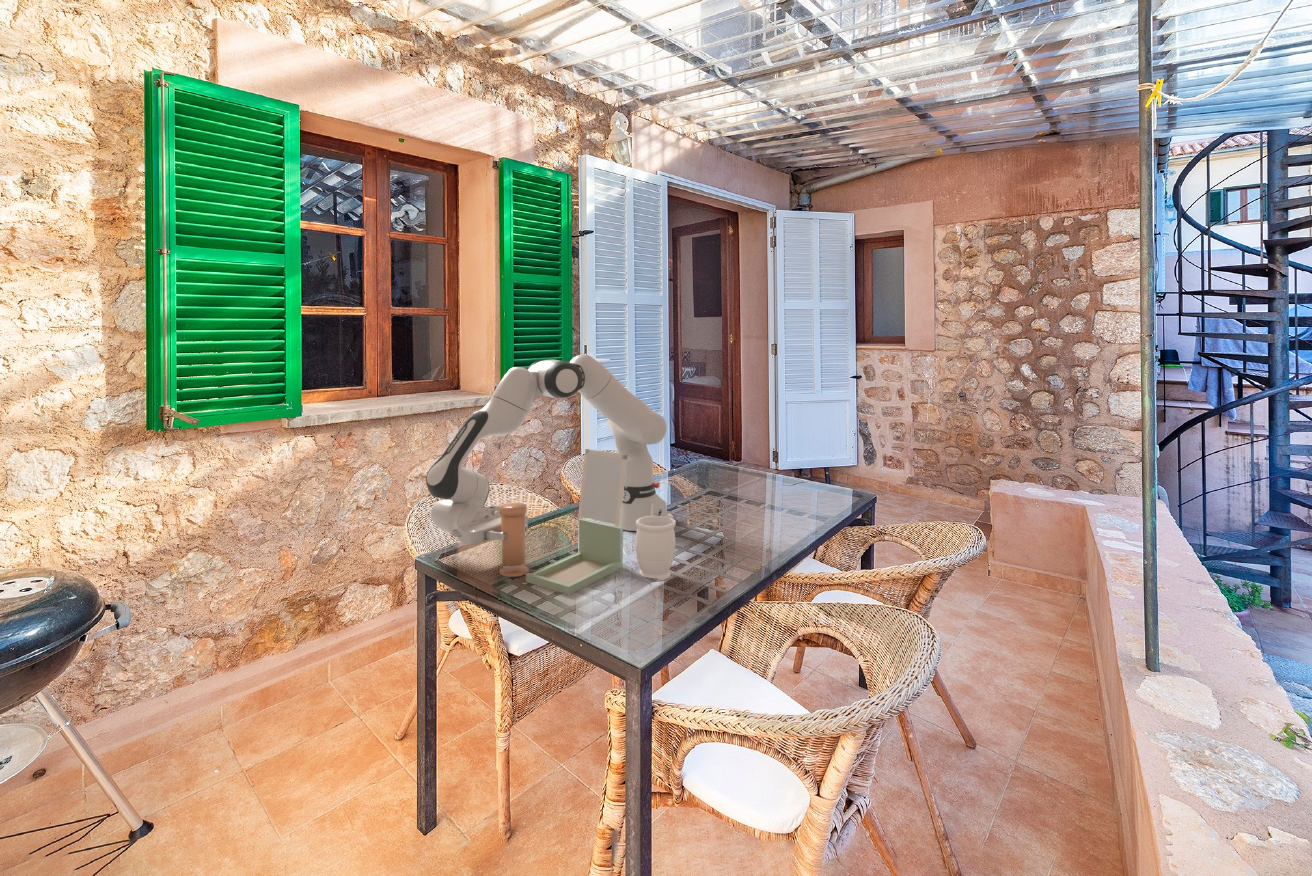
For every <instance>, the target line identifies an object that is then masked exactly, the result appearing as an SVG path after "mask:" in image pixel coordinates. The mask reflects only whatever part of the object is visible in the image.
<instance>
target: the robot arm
mask: <svg viewBox="0 0 1312 876" xmlns="http://www.w3.org/2000/svg"><path fill="white" fill-rule="evenodd" d="M577 392H578V393H579V394H580V395H581V396H582V397H583V398H584V399H585V400H586V401H587V402H588V403H589V404H590V405H591V406H592V407H593V408H594V409H595V410H597V412H598V413H599V414H601V415H602V416H604V418H606V419H607V425H608V428H609V430H610V431H611V433H612V436H613V439H614V443H615V448H616V453H617V454H624V455H628V457H627V466H626V475H625V484H624V493H623V502H622V511H621V520H620V527H622V528H623V531H630V532H633V531H634V532H637V529H638V527H637V526H636V520H637V519H639V518H641V517H645V516H665V517H670V518H672V519H674V515H672V514H671V513H668V512H667V510H668V509H667V502H666V501H665V500H664V498H661V496H659V495H658V494H657V493H656V489H660V486H661V484H660V482H658V481H657V482H656V481H653V480H654V478H653V475H654V473H653V472H654V470H653V469H654V468H653V467H654V462H653V458H652V455H651V454H650V451H649V449H648V445H649V446H651V445H655V444H656V445H657V444H658V443H660V442H661V441H663V439H664V438H665V436H666V434H667V422H666V420H665V418H664V417H663V416H661V414H659V413H657V412H656V411H654V410H653V409H652V408H651V407H650V406H648V405H647V404H646V403H645V402H644V401H642V400H641V399H639V398H638V397H637V396H635V395H634V393H631V391H629V389H627V388H626V387H625V386H624V385H623V384H622V383H621V382H620V381H619V380H618V379H617V378H616V377H615V376H614V375H613V374H612V373H611V372H610V371H609V370H608V369H607V368H606V367H605V366H604V365H603V364H601V362H599V361H598V360H597V359H595V358H594V357H592V356H591V355H589V354H585V353H583V354H582V353H581V354H578V355H575V356H574V357H573V358H571V360H570V361H565V360H559V359H558V360H557V359H539V360H536V361H534V362H533V363H531V364H530V365H529V366H527V367H522V366H521V367H520V366H514V367H511V368H510V369H508V371H507V372H506V373H505V374H504V375H503V376H502V378H501V379H500V381H499V383H498V384H497V386H496V388H495V389H494V391H493V393H492V396H491V397H490V399H489V400H488V402H487V403H486V404H485V405H484V406H483V407H482V408H481V409H480V410H476V411H474V412H473V413H471V414H470V415H469V416H468V418H467V419H466V421H465V422H464V423H463V425H462V426H461V428H460V429H459V430H458V432H457V433H456V435H455V436H454V437H453V439H452V441H451V442H450V443H449V444H448V446H447V448H445V450H444V452H443V453H442V454H441V456H440V457H439V458H438V459H437V460H436V461H435V462H434V463H433V464H432V466H430V468H429V470H428V471H427V473H426V476H425V485H426V488H427V490H428V492H429V494H430V495H431V496H432V497H434V498H437V499H440V500H438V501H436V502H435V503H434V504H433V505H432V506H431V510H430V518H431V520H432V522H433V524H434V525H435V526H436V527H437V528H438V529H440V530H441V531H444V532H447V533H450V535H451V537H455V538H457V540H458V541H459V542H461V543H463V544H466V545H469V546H478V545H481V544H483V543H486V542H489V541H501V542H502V541H503V540H505V539H507V533H506V532H501V514H500V513H499V506H500V505H494V506H493V505H492V506H485V505H486V502H487V501H488V497H489V495H490V482H489V480H488V478H487V476H486V475H484V474H482V473H479V472H477V471H475V470H472V469H469V468H467V467H466V468H465V467H463V464H464V462H465V461H466V459H467V457H468V456H469V455H470V454H471V452H472V450H473V449H474V447H475V446H476V445H477V444H478V442H479V441H480V440H481V439H483V438H485V437H488V436H503V435H504V436H506V435H509V434H512V433H515V432H516V431H518V430H519V428H520V427H522V424H523V423H524V421H525V419H526V417H528V413H529V412H530V409H531V407H532V405H533V403H534V401H536V399H537V398H538V397H540V396H544V397H546V398H552V399H553V398H555V399H559V400H560V399H562V400H563V399H567V398H570V397H573V395H575V394H576V393H577ZM655 488H656V489H655ZM674 520H675V519H674ZM612 525H613V526H615V524H612ZM528 526H529V516H528V514H527V513H525V533H527V532H528V531H529V530H528V529H529V527H528Z"/></svg>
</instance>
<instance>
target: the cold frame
mask: <svg viewBox="0 0 1312 876" xmlns="http://www.w3.org/2000/svg"><path fill="white" fill-rule="evenodd" d="M623 545H624V530H623V528H622V527H616V526H614V525H613V524H610V523H605V522H601V521H599V522H598V521H596V520H592V519H590V520H589V519H587V518H583V519H580V518H578V552H577V553H575V554H571V555H570V556H567V557H565V558H564V559H561V560H559V561H557V562H555V563H552V564H550V565H548V566H545V567H543V568H541V569H539V570H536V571H534V572H528V573H527V574H525V583H528V584H532V585H535V586H539V587H541V588H544V589H549V590H551V591H555V592H557V593H561V594H565V595H567V596H570V595H572V594H574V593H576V592H578V591H580V590H581V589H583V588H585V587H587V586H589V585H591V584H593V583H596V582H597V581H599V580H601V579H603V578H604V577H607V576H609V575H610V574H613V573H615V572H617V571H618V570H621V569H622V568H623V566H624V565H623V564H624V562H623V559H624V554H623V553H624V550H623V549H624V547H623Z"/></svg>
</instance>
